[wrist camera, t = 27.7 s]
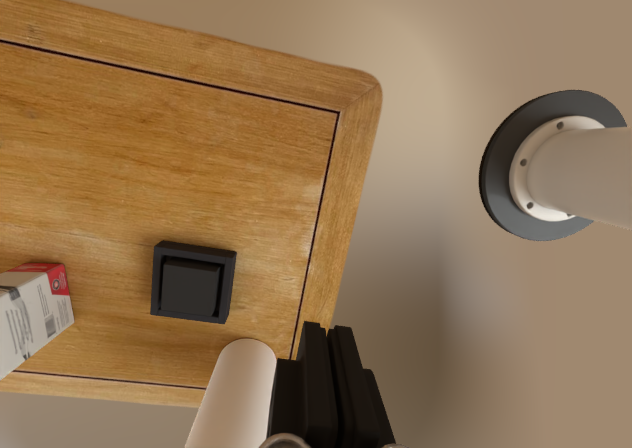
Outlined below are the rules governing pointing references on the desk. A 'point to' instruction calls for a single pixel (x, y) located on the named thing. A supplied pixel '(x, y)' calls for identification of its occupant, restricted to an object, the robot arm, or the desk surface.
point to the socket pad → (170, 249)
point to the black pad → (190, 286)
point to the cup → (236, 398)
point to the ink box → (31, 311)
